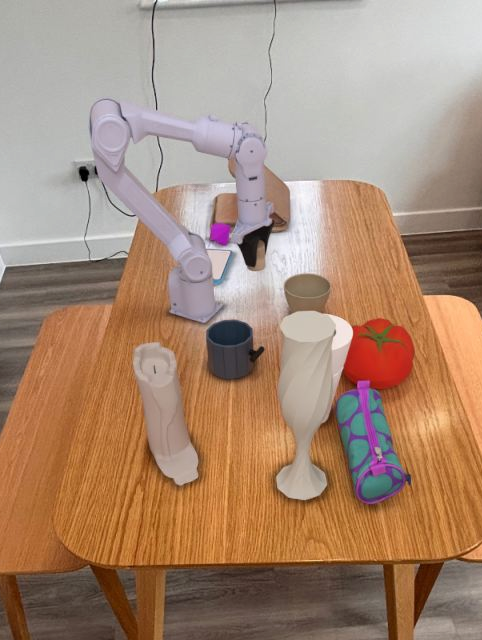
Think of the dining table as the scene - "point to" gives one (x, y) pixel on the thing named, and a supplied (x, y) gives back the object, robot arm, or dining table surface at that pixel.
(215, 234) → the crystal
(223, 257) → the smartphone
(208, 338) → the blue cylindrical container
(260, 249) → the peg
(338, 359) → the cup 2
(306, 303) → the flower pot
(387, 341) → the tomato
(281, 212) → the case
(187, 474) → the candle
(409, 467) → the dining table surface
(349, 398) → the pencil case
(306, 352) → the vase
